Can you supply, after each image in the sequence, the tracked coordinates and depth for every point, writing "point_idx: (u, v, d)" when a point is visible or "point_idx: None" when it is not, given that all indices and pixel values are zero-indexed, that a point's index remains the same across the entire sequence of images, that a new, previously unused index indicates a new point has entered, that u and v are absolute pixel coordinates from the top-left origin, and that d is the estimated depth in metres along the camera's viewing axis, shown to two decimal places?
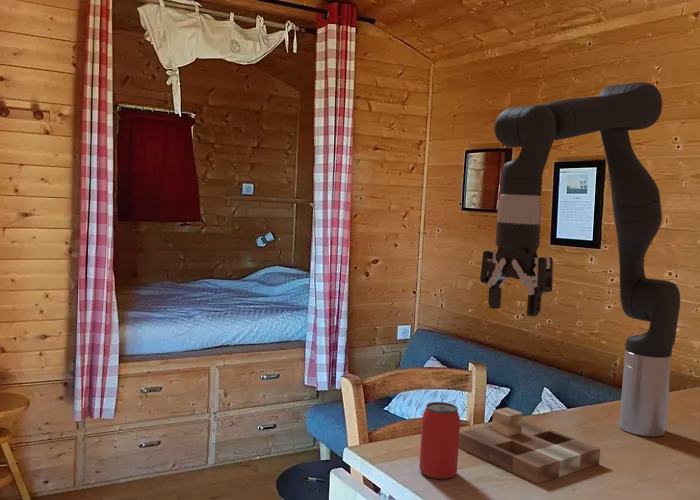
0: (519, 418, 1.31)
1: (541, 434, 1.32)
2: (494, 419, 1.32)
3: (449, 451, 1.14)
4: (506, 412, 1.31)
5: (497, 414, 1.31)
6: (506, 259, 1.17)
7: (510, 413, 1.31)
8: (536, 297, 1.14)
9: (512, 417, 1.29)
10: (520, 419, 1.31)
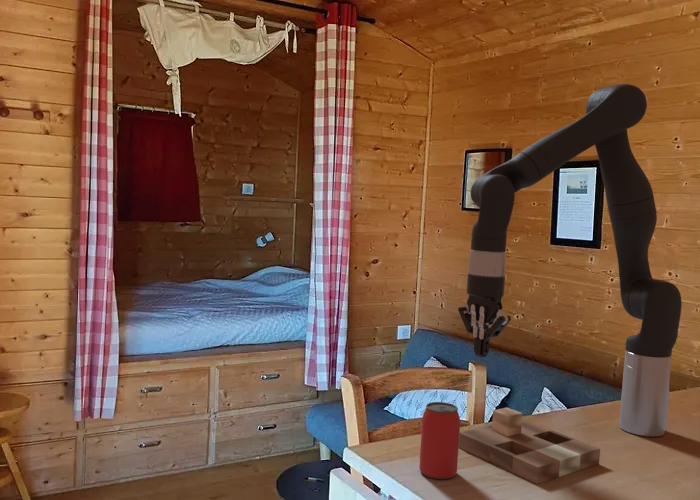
0: (519, 418, 1.31)
1: (541, 434, 1.32)
2: (494, 419, 1.32)
3: (449, 451, 1.14)
4: (506, 412, 1.31)
5: (497, 414, 1.31)
6: (474, 304, 1.37)
7: (510, 413, 1.31)
8: (485, 341, 1.36)
9: (512, 417, 1.29)
10: (520, 419, 1.31)
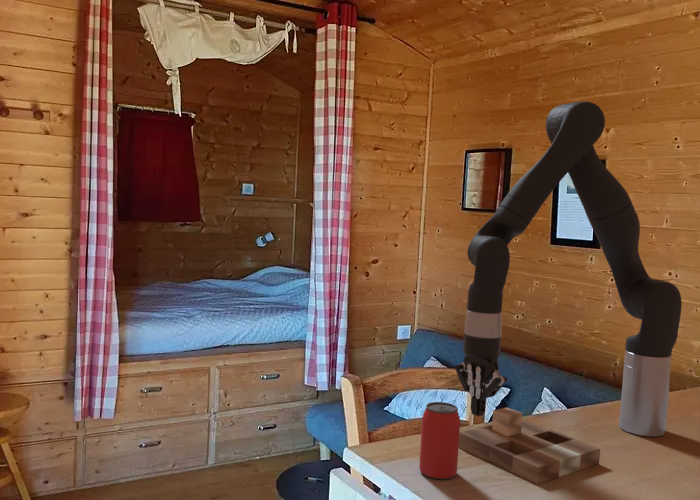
0: (519, 418, 1.31)
1: (541, 434, 1.32)
2: (494, 419, 1.32)
3: (449, 451, 1.14)
4: (506, 412, 1.31)
5: (497, 414, 1.31)
6: (470, 363, 1.37)
7: (510, 413, 1.31)
8: (481, 400, 1.37)
9: (512, 417, 1.29)
10: (520, 419, 1.31)
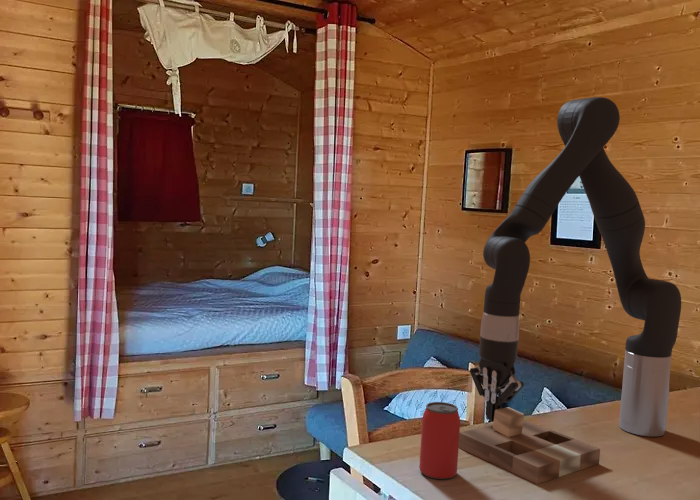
0: (521, 419, 1.30)
1: (541, 434, 1.32)
2: (495, 419, 1.31)
3: (449, 451, 1.14)
4: (508, 412, 1.31)
5: (499, 414, 1.31)
6: (486, 367, 1.34)
7: (512, 413, 1.30)
8: (497, 405, 1.33)
9: (513, 418, 1.29)
10: (522, 420, 1.31)
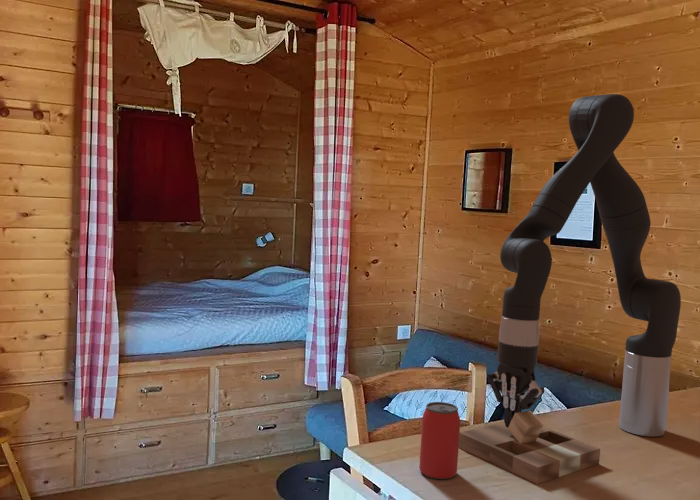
0: (538, 429, 1.26)
1: (541, 434, 1.32)
2: (513, 421, 1.27)
3: (449, 451, 1.14)
4: (527, 419, 1.26)
5: (517, 419, 1.26)
6: (505, 373, 1.30)
7: (531, 422, 1.25)
8: (516, 412, 1.29)
9: (531, 428, 1.24)
10: (539, 430, 1.26)
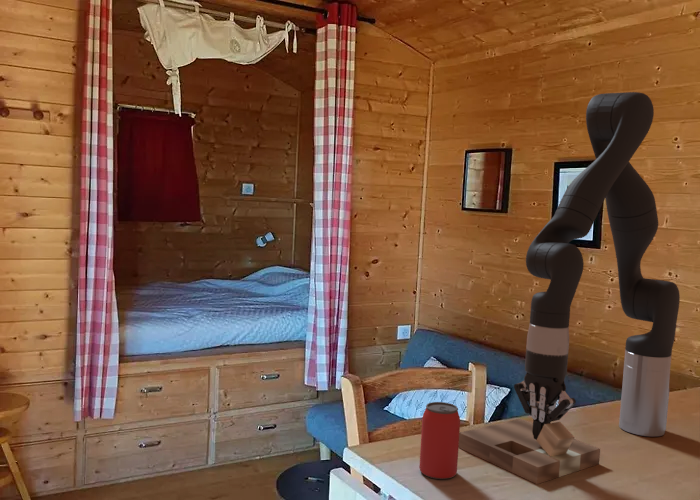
0: (569, 441, 1.20)
1: None
2: (542, 433, 1.21)
3: (449, 451, 1.14)
4: (557, 431, 1.20)
5: (547, 430, 1.20)
6: (533, 383, 1.24)
7: (561, 434, 1.20)
8: None
9: (562, 440, 1.19)
10: (570, 442, 1.20)
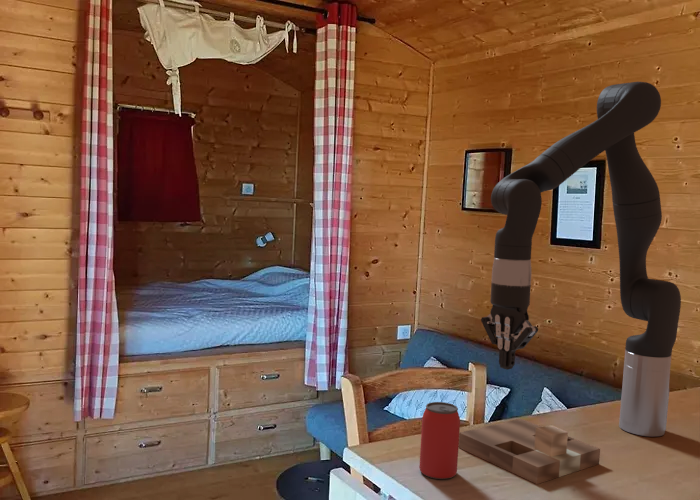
0: (564, 437, 1.21)
1: None
2: (537, 437, 1.23)
3: (449, 451, 1.14)
4: (550, 430, 1.22)
5: (540, 432, 1.22)
6: (498, 314, 1.31)
7: (554, 431, 1.21)
8: (511, 353, 1.30)
9: (556, 436, 1.20)
10: (565, 438, 1.21)
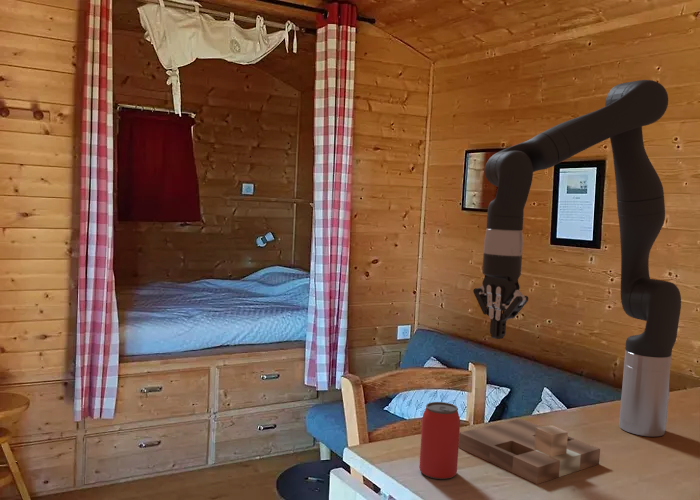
0: (564, 437, 1.21)
1: None
2: (537, 437, 1.23)
3: (449, 451, 1.14)
4: (550, 430, 1.22)
5: (540, 432, 1.22)
6: (490, 285, 1.33)
7: (554, 431, 1.21)
8: (501, 322, 1.32)
9: (556, 436, 1.20)
10: (565, 438, 1.21)
